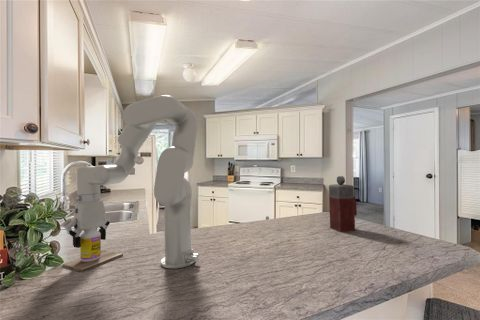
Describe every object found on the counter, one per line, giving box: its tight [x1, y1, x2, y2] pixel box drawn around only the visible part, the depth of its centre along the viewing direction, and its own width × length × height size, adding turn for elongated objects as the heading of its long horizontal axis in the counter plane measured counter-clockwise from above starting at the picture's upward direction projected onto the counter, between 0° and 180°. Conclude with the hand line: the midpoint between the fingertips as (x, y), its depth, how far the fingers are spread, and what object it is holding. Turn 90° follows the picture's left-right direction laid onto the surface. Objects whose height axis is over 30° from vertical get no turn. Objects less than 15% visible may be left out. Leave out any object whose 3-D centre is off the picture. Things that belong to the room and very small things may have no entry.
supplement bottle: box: [79, 227, 102, 262], centre depth 94 cm, size 7×7×13 cm
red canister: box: [328, 175, 358, 233], centre depth 130 cm, size 9×11×28 cm
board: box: [62, 249, 124, 273], centre depth 94 cm, size 12×16×1 cm
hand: (90, 243), depth 94 cm, fingers open, 9 cm apart
